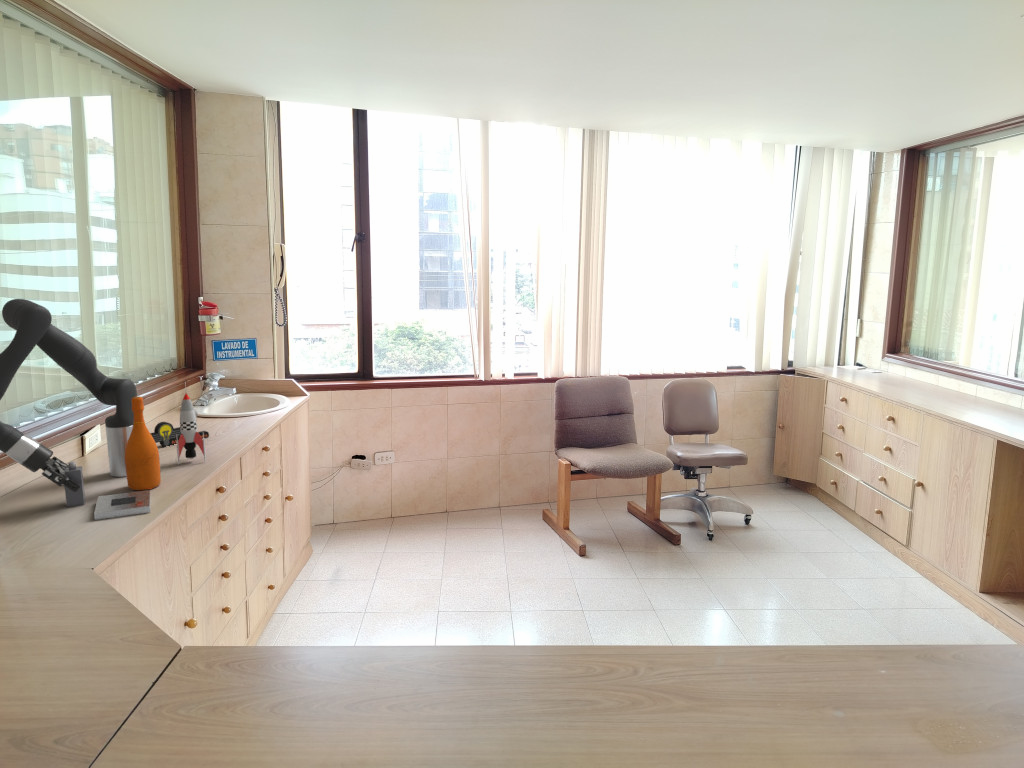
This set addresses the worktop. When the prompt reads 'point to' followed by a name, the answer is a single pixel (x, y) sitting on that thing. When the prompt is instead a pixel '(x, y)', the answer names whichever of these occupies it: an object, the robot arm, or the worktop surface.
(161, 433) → the decorative sign
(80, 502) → the plug
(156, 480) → the wine bottle
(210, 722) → the worktop surface
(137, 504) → the socket
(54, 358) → the robot arm
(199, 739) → the worktop surface
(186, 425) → the toy
